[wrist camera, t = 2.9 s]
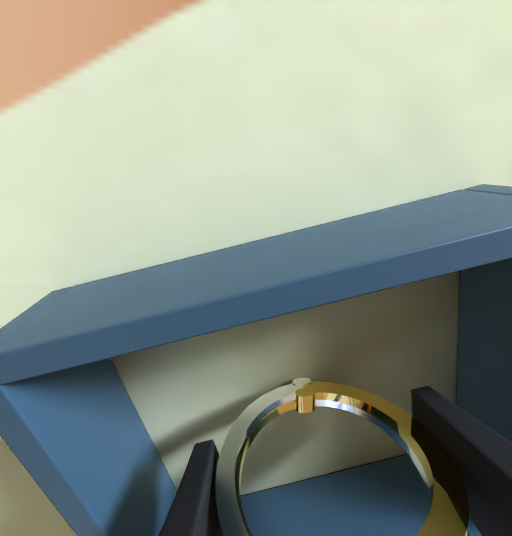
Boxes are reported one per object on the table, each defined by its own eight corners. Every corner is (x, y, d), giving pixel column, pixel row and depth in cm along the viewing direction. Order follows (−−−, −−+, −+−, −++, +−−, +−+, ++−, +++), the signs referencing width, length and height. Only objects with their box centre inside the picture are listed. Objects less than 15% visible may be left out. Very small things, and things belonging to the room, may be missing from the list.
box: (176, 522, 15) (159, 643, 11) (51, 291, 10) (-55, 367, 6) (469, 449, 15) (550, 545, 11) (483, 183, 10) (635, 195, 6)
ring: (223, 421, 13) (214, 790, 5) (216, 362, 12) (192, 724, 4) (374, 405, 13) (564, 723, 6) (382, 347, 12) (631, 648, 5)
